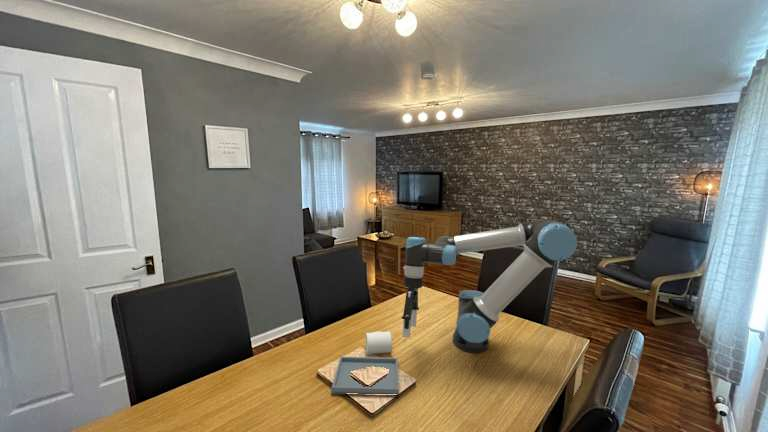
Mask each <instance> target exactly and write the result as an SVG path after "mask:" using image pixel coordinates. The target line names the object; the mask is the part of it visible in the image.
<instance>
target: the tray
mask: <svg viewBox="0 0 768 432" xmlns="http://www.w3.org/2000/svg"><path fill="white" fill-rule="evenodd" d="M372 366H374V367H381V368H382V367H384V368H386V369H389V373H388V375H387V376H386V377H385V378H383V379H382V380H380V381H379V382H378V383H376V384H375V385H373V386H372V387H363V386H362V385H361V384H359V383H358V382H357V381H355V380H354V379H353V378H352V377H351V376H350V372H351V371H354V370H358V369H362V368H363V369H366V367H372ZM335 370H336V371H335V375H334V377H333V381H332V384H331V395H339V396H340V395H343V396H346V395H345V393H358V394H397V395H398V396H399V394H400V393H399V392H400V391H399V389H400V388H399V360H398V357H376V356H375V357H372V356H341V355H340V357H339V360H338V365H337V368H336V369H335Z"/></svg>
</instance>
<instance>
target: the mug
mask: <svg viewBox="0 0 768 432" xmlns="http://www.w3.org/2000/svg"><path fill="white" fill-rule="evenodd" d="M392 337H393V336H392V334H391V331H379V330H376V331H373V332H366V333H365V350H366V351H365V352H367V353H366V354H367V355H374V354H387V353H392V351H393V338H392Z"/></svg>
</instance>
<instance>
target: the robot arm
mask: <svg viewBox="0 0 768 432" xmlns="http://www.w3.org/2000/svg"><path fill="white" fill-rule="evenodd" d="M426 241H427V240H426V238H425V237H420V236H418V237H417V236H409V237H407V239H406V244H405V254H404V255H405V256H404V257H405V258H404V266H403V267H402V270H403V271H404V272H403V273H404V276H403V281H402V282H403V284H402V285H403V287H406V288H408V289H407V291H406V292H405V301H404V307H403V315H402V316H401V320H403V322H402V323H403V325H402V336H401V337H403V338H408V339H410V338H411V330H412V327H417V317H418V315H417V314H418V311H419V310H420V307H419V289H421V288H423V285H424V284H423V283H424V281H423V280H424V278H423V276H424V273H425V271H424V270H425V263H428V264H436V265H437V264H438V265H444V266H450V265H451V266H454V265H456V261H457V260H456V259H457V255H458V254H459V255H460V254H465V253H466V254H467V253H473V252H480V251H481V252H482V251H490V250H497V249H504V248H511V247H519V246H521V247H523V252H521V253H520V255H519V256H517V258H515V260H514V261H513V262H512V263H511V264H510V265H509V266H508V267H507V268H506V269H505V270H504V271H503V272H502V273H501V274H500V276H499V277H498V278H496V279H495V281H493V283H492V284H491V285H490V286H489V287H488V288H487V289H486V290H485V291H484V292H482V291H479V290H472V289H470V290H469V289H464V290H461V291H459V294H458V308H457V316H456V317H457V319H456V327H455V329H454V331H453V333H452V344H453V345H454V346H455V347H456V348H458V349H460V350H462V351H464V352H467V353H472V354H480V353H484V352H487V350H488V349H489V347H490V339H489V336H490V334H491V329H492V328H493V327H494V326H495V324H496V323H498V322H499V320H500V316H499V314H500V313H501V312H502V311H503V310H504V309H505V308H506V307H507V306H508V305H509V304H510V303H511V302H512V301H513V300H514V299H515V298H517V296H518V295H519V294H520V293H521V292H522V291H523V290H524V289H525V288H526V287H527V286H528V285H529V284H530V283H531V282H532V281H533V280H534V279H535V278H536V277H537V276H538V275H539V274H540V273H541V272H542V271H543V270H544V269H546V268H553V267H554V266H555V265H556V264H557V263H558V262H559V261H564V260H566V259H569V258H570V257H571V256H573V254H574V253H575V251H576V249H577V247H578V239H577V236H576V234H575V233H574V231H573V230H572V229H571V228H569V226H567V225H566V224H564V223H561V222H559V221H557V220H556V219H551V218H543V219H537V220H533V221H528V222H521V223H519V224H518V225H517V226H512V227H506V228H499V229H493V230H487V231H485V230H484V231H479V232H473V233H467V234H459V235H455V236H445V235H443V236H440V237H438V238H437V239H436V240H435V242H434V243H428V242H426Z"/></svg>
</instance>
